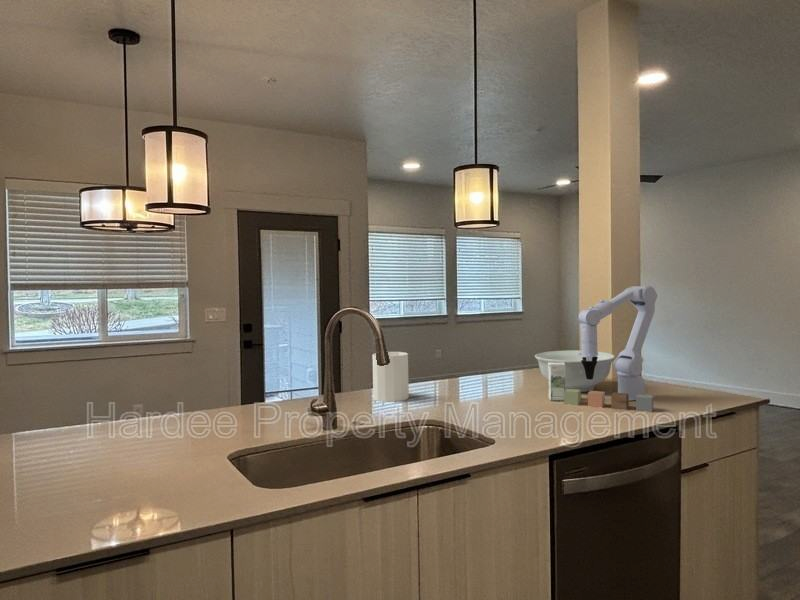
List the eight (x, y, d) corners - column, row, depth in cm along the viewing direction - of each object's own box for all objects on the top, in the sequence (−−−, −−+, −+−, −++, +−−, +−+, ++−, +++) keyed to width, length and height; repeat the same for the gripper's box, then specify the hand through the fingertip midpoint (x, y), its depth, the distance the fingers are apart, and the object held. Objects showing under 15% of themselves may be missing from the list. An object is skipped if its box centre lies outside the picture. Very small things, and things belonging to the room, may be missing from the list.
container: (393, 403, 218) (392, 357, 217) (365, 399, 226) (364, 354, 226) (415, 396, 229) (414, 352, 229) (387, 393, 238) (386, 350, 237)
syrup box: (563, 398, 220) (562, 361, 220) (566, 401, 214) (565, 363, 214) (548, 398, 221) (547, 361, 220) (550, 401, 215) (550, 363, 214)
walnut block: (614, 405, 205) (613, 392, 205) (628, 407, 203) (628, 393, 203) (611, 408, 201) (611, 394, 201) (626, 410, 198) (626, 396, 198)
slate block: (638, 408, 201) (638, 394, 201) (653, 409, 199) (653, 395, 198) (636, 411, 197) (635, 396, 197) (651, 412, 194) (651, 398, 194)
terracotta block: (590, 403, 209) (590, 390, 209) (604, 405, 207) (604, 391, 207) (587, 406, 205) (587, 393, 205) (602, 407, 203) (602, 394, 202)
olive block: (567, 401, 214) (567, 388, 214) (581, 402, 211) (580, 389, 211) (564, 404, 210) (564, 391, 210) (577, 405, 207) (577, 392, 207)
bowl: (544, 397, 223) (544, 360, 222) (528, 382, 255) (528, 350, 254) (626, 396, 221) (626, 359, 221) (600, 381, 254) (600, 349, 253)
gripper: (578, 339, 219) (579, 373, 220) (577, 343, 206) (578, 380, 206) (598, 339, 217) (598, 374, 217) (597, 343, 203) (598, 381, 204)
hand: (590, 377), depth 212 cm, fingers open, 7 cm apart
